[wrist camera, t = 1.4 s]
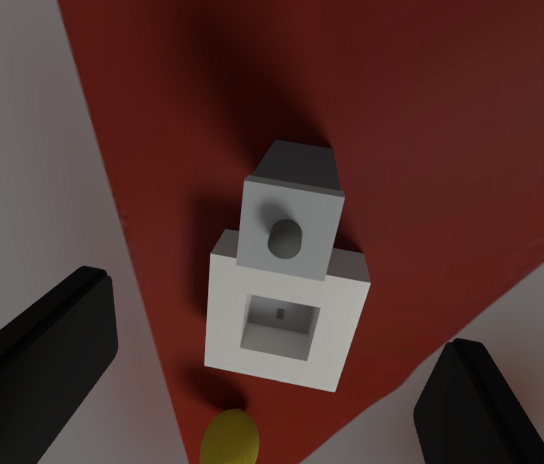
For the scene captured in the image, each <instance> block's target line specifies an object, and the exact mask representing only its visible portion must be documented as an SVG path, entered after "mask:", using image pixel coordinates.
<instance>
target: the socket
mask: <svg viewBox="0 0 544 464" xmlns="http://www.w3.org/2000/svg"><path fill="white" fill-rule="evenodd" d="M238 240H239V231H235V230H230V229H225V230H224V232H223V234H222V235H221V237H220V239H219V240H218V242H217V244H216V245H215V247H214V249H213V250H212V252H211V254H210V272H209V291H208V309H207V327H206V345H205V364H204V366H209V367H214V368H219V369H224V370H228V371H233V372H238V373H243V374H248V375H253V376H258V377H263V378H268V379H272V380H277V381H282V382H287V383H292V384H297V385H302V386H307V387H311V388H316V389H321V390H326V391H331V392H335V390H336V387H337V384H338V381H339V378H340V375H341V372H342V369H343V366H344V363H345V360H346V357H347V354H348V351H349V348H350V344H351V341H352V338H353V335H354V332H355V329H356V326H357V323H358V320H359V317H360V314H361V311H362V308H363V305H364V302H365V299H366V296H367V293H368V290H369V287H370V284H371V283H370V278H369V274H368V270H367V266H366V262H365V258H364V254H363V253H358V252H352V251H347V250H341V249H336V248H332V252H331V256H330V260H329V264H328V268H327V272H326V276H325V280H324V282H323V281H318V280H313V279H307V278H302V277H296V276H291V275H286V274H280V273H275V272H269V271H264V270H259V269H253V268H248V267H243V266H237V265H236V260H237V250H238Z"/></svg>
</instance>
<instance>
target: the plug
mask: <svg viewBox="0 0 544 464" xmlns="http://www.w3.org/2000/svg"><path fill="white" fill-rule="evenodd" d="M344 200H345V195H344V191H340V185H339V180H338V174H337V168H336V162H335V157H334V151H333V149H331V148H325V147H319V146H313V145H306V144H300V143H294V142H288V141H282V140H276V139H275V141H274V142H273V144H272V145H271V147H270V148H269V150H268V151H267V153H266V154H265V156H264V157H263V159H262V160H261V162H260V163H259V165H258V166H257V168H256V169H255V171H254V173H253V174H252V176H250V175H248V176H247V177H246V179H245V180H244V189H243V199H242V209H241V219H240V230H239V240H238V250H237V260H236V265H237V266H243V267H248V268H253V269H259V270H264V271H269V272H275V273H280V274H286V275H291V276H296V277H302V278H307V279H313V280H318V281H323V282H324V280H325V276H326V272H327V268H328V264H329V260H330V256H331V252H332V248H333V244H334V240H335V236H336V232H337V228H338V224H339V220H340V216H341V212H342V208H343V204H344Z"/></svg>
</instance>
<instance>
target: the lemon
mask: <svg viewBox="0 0 544 464" xmlns="http://www.w3.org/2000/svg"><path fill="white" fill-rule="evenodd" d="M258 449H259V436H258V430H257V427H256V424H255V423H254V421H253V419H252V418H251V417H250V416H249V415H248V414H247V413H246V412H244V411H242V410H241V409H240V408H237V409H229V410H225V411H223V412H221V413H220V414H218V415H217V416H216V417H215V418H214V419H213V420H212V421H211V423H210V424H209V426H208V428H207V430H206V432H205V435H204V438H203V441H202V445H201V451H200V464H255V462H256V458H257V454H258Z"/></svg>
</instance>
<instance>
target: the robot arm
mask: <svg viewBox="0 0 544 464" xmlns="http://www.w3.org/2000/svg"><path fill="white" fill-rule="evenodd" d="M117 351H118V338H117V328H116V317H115V307H114V297H113V287H112V279H111V277H110V276H107V272H106V271H105V270H103V269H98V268H93V267H88V266H82V267H80V268H78V269H77V270H76V271H75V272H73V273H72V274H71V275H69V276H68V277H67V278H66V279H64V280H63V281H62V282H61V283H59V284H58V285H57V286H55V287H54V288H53V289H52V290H50V291H49V292H48V293H47V294H45V295H44V296H43V297H41V298H40V299H39V300H38V301H36V302H35V303H34V304H32V305H31V306H30V307H29V308H27V309H26V310H25V311H24V312H22V313H21V314H20V315H19V316H17V317H16V318H15V319H13V320H12V321H11V322H10V323H8V324H7V325H6V326H4V327H3V328H2V329H1V330H0V464H37V463H38V461H39V460H40V459H41V457H42V456H43V454H44V453H45V452H46V451H47V449H48V448H49V446H50V445H51V444H52V442H53V441H54V440H55V438H56V437H57V435H58V434H59V433H60V431H61V430H62V429H63V427H64V426H65V424H66V423H67V422H68V421H69V419H70V418H71V416H72V415H73V414H74V412H75V411H76V410H77V408H78V407H79V406H80V404H81V403H82V402H83V400H84V399H85V397H86V396H87V395H88V393H89V392H90V391H91V389H92V388H93V387H94V385H95V384H96V383H97V381H98V380H99V378H100V377H101V376H102V374H103V373H104V372H105V370H106V369H107V368H108V366H109V365H110V363H111V362H112V361H113V359H114V358H115V356H116V354H117ZM413 417H414V423H415V427H416V430H417V434H418V438H419V441H420V445H421V449H422V452H423V456H424V460H425V464H544V442H543V440H542V439H541V437H540V436H539V434H538V433H537V431H536V429H535V428H534V426H533V424H532V423H531V421H530V419H529V418H528V416H527V414H526V413H525V411H524V410H523V408H522V406H521V405H520V403H519V401H518V400H517V398H516V397H515V395H514V393H513V392H512V390H511V389H510V387H509V385H508V384H507V382H506V380H505V379H504V377H503V376H502V374H501V372H500V371H499V369H498V367H497V366H496V364H495V362H494V361H493V359H492V358H491V356H490V354H489V353H488V351H487V349H486V348H485V346H484V345H483V344H482V343H480V342H476V341H470V340H466V339H460V338H456V339H454V340H453V342H448V343H446V345H445V347H444V349H443V351H442V353H441V355H440V357H439V359H438V361H437V363H436V365H435V367H434V369H433V371H432V373H431V375H430V377H429V379H428V381H427V383H426V385H425V387H424V389H423V391H422V393H421V395H420V398H419V400H418V402H417V404H416V406H415V408H414V414H413Z"/></svg>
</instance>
